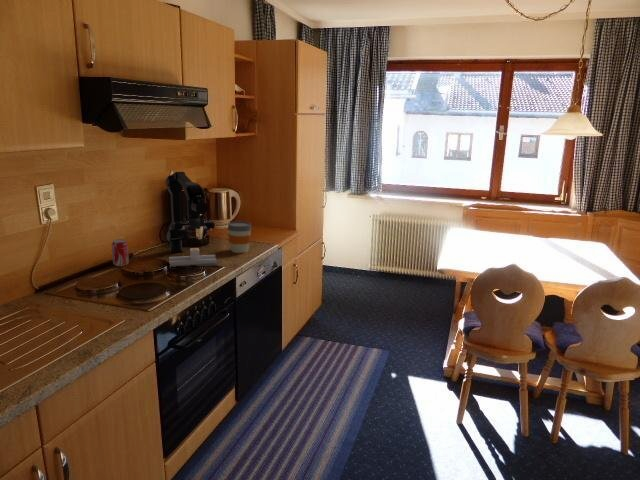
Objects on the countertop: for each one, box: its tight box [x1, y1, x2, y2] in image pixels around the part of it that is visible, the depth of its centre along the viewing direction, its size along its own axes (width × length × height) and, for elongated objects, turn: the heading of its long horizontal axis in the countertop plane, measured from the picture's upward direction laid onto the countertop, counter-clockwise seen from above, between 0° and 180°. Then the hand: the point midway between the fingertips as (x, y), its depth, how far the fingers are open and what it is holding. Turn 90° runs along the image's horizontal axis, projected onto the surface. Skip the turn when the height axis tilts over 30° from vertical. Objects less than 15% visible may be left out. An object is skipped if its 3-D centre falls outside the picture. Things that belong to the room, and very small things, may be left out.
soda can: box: [111, 238, 129, 267], centre depth 223 cm, size 7×7×12 cm
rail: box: [168, 254, 218, 269], centre depth 230 cm, size 10×22×3 cm, turn 108°
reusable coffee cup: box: [227, 221, 252, 254], centre depth 255 cm, size 13×13×15 cm
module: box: [189, 247, 201, 260], centre depth 230 cm, size 5×4×6 cm
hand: (194, 242), depth 228 cm, fingers open, 7 cm apart
